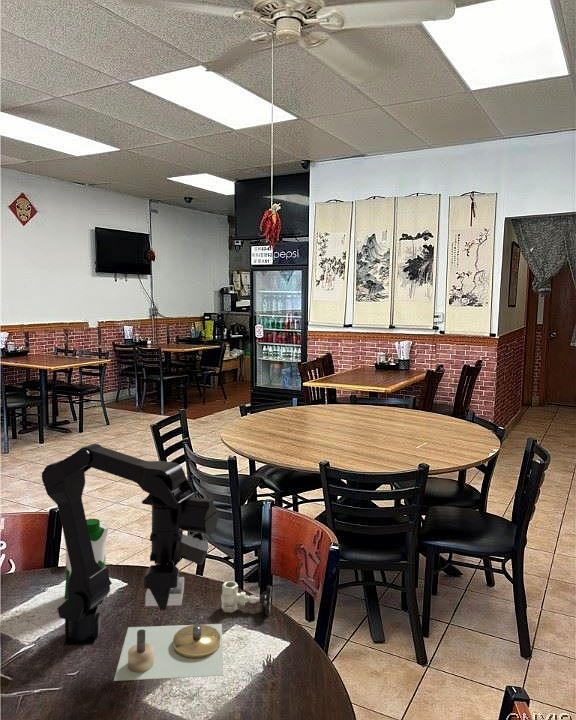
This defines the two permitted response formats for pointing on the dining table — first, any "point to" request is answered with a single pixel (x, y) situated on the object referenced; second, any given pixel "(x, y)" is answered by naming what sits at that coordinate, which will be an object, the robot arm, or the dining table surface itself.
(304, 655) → the dining table surface
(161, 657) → the mat
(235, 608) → the valve
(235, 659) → the dining table surface
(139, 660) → the stand
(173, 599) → the square ring
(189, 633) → the bell
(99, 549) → the milk carton
